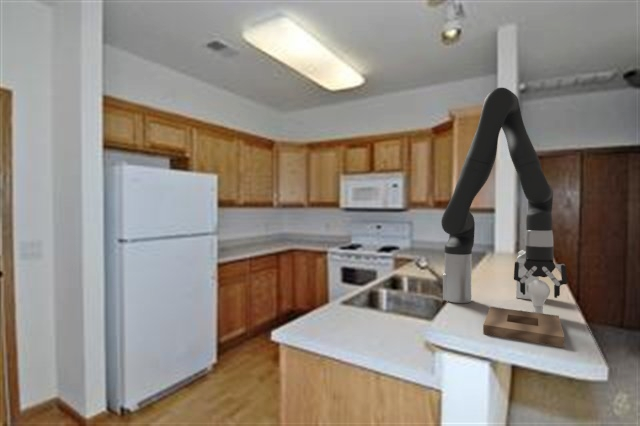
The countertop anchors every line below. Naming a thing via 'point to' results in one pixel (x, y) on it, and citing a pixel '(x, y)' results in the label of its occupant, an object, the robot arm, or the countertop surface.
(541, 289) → the lightbulb
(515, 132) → the robot arm
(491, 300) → the countertop surface
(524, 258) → the milk carton
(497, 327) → the holder block
